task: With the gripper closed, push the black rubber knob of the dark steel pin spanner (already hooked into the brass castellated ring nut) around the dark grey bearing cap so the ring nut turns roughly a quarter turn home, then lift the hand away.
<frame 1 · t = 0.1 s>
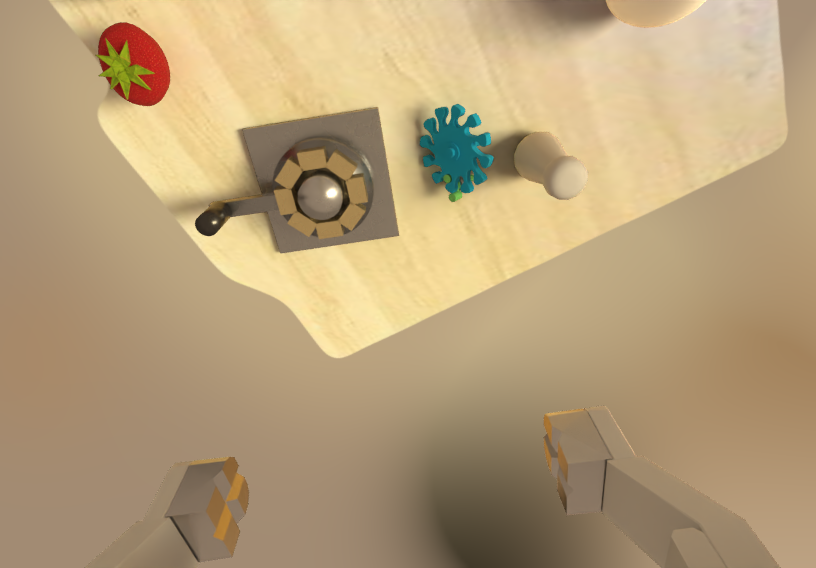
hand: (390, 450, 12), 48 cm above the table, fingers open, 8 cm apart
ring nut: (284, 205, 51), point 6 cm above the table, hinge at 0.0°
salt shaker: (532, 152, 56), on the table
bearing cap: (326, 184, 57), on the table
strawberry: (160, 63, 50), on the table
gear: (451, 148, 55), on the table
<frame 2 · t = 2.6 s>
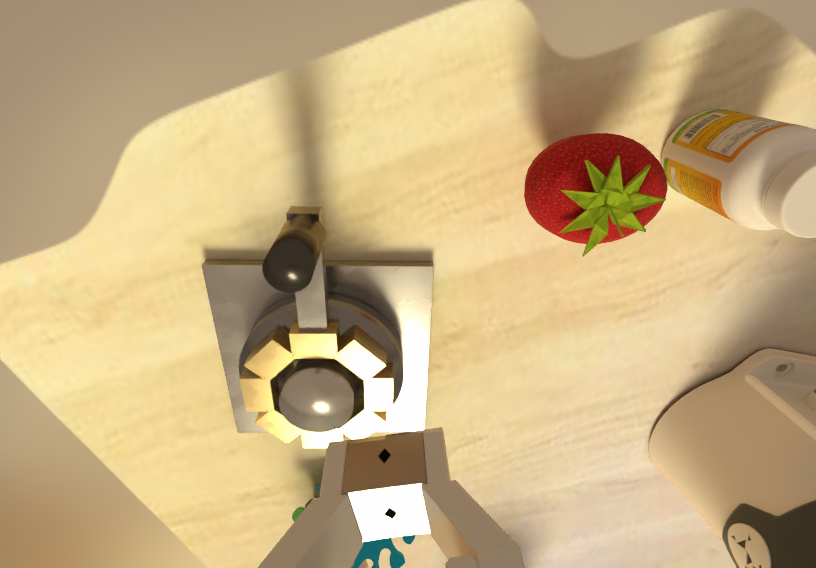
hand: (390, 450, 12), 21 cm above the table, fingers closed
ring nut: (310, 361, 28), point 6 cm above the table, hinge at 0.0°
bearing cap: (327, 351, 36), on the table
strawberry: (559, 164, 30), on the table
gear: (357, 484, 44), on the table
supplement bottle: (698, 151, 29), on the table
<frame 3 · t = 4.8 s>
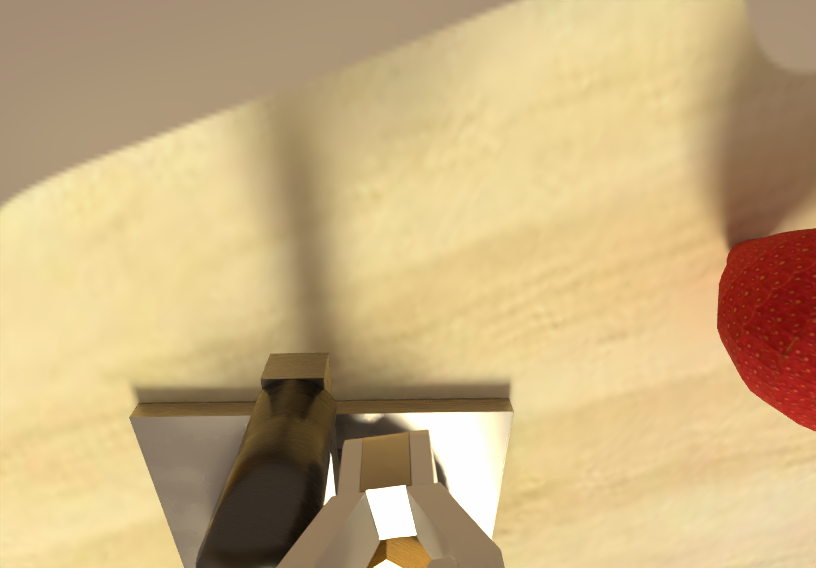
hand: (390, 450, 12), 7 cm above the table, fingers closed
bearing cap: (337, 518, 23), on the table
strawberry: (738, 252, 17), on the table
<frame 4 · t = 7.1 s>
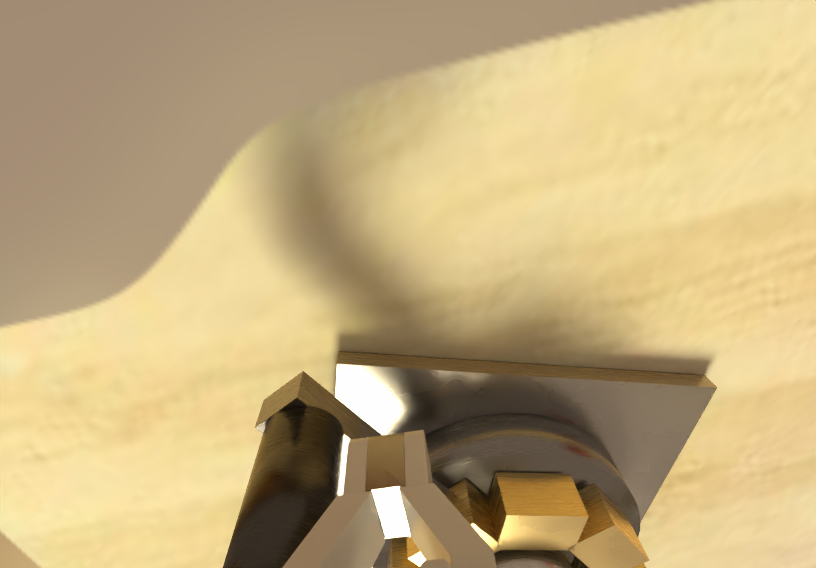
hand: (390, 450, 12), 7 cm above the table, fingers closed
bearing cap: (490, 489, 23), on the table
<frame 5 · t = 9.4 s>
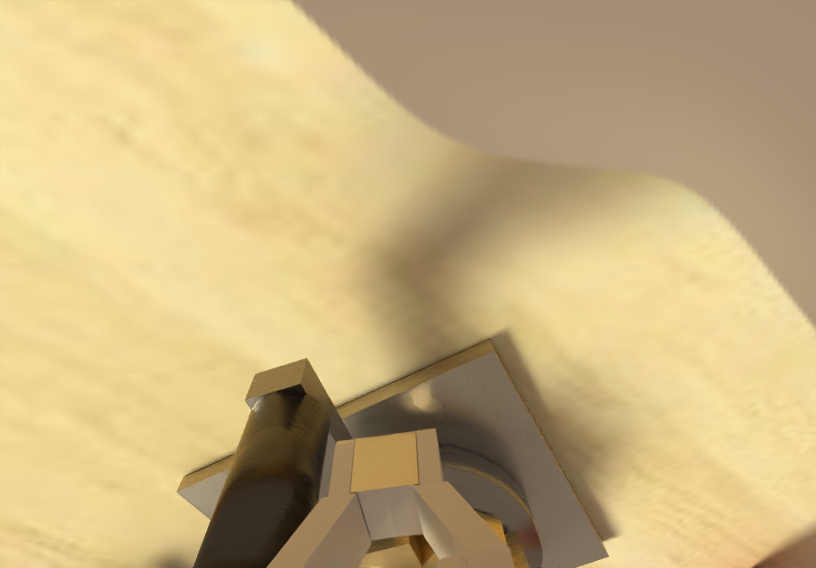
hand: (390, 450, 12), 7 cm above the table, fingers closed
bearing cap: (410, 512, 23), on the table
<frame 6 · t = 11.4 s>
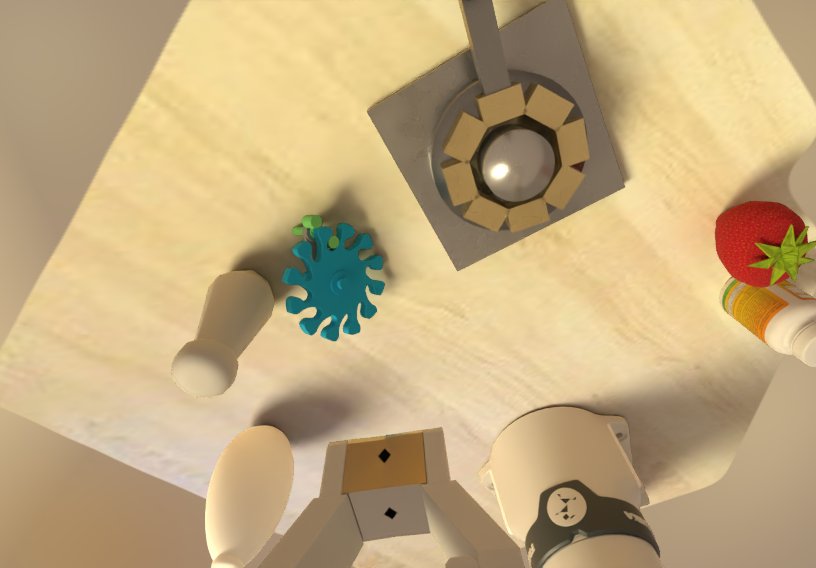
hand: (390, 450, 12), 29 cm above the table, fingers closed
ring nut: (508, 112, 30), point 6 cm above the table, hinge at 80.5°
salt shaker: (248, 287, 43), on the table
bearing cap: (500, 149, 37), on the table
strawberry: (717, 220, 42), on the table
white air blower bulb: (267, 431, 52), on the table
gear: (339, 256, 42), on the table
supplement bottle: (743, 289, 45), on the table
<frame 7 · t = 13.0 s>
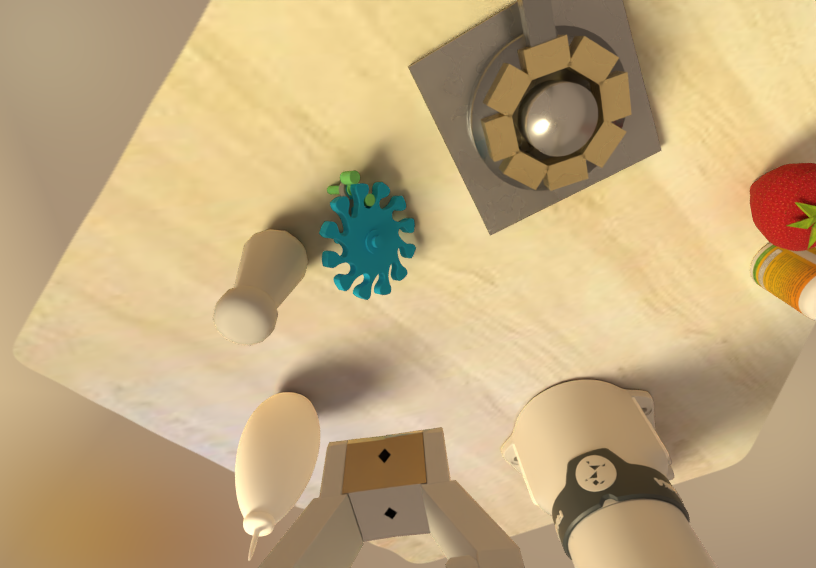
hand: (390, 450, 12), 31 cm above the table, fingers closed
ring nut: (554, 62, 30), point 6 cm above the table, hinge at 80.5°
salt shaker: (281, 249, 43), on the table
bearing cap: (538, 109, 37), on the table
strawberry: (750, 188, 42), on the table
white air blower bulb: (292, 399, 52), on the table
gear: (371, 219, 42), on the table
supplement bottle: (774, 260, 45), on the table
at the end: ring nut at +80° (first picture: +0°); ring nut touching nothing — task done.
